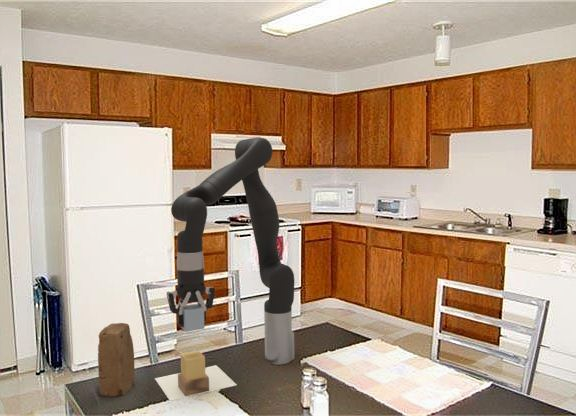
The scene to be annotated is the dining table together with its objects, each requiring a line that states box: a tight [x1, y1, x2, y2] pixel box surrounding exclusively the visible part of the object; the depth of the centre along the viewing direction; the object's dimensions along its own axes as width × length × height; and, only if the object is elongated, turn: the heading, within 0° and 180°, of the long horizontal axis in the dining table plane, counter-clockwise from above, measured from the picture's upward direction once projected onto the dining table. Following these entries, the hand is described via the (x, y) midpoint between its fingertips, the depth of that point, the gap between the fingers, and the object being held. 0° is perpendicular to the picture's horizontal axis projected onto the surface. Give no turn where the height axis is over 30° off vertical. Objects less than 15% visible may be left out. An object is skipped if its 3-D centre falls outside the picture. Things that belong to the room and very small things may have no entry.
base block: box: [177, 372, 209, 397], centre depth 144 cm, size 7×7×4 cm
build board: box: [154, 364, 238, 402], centre depth 149 cm, size 20×17×1 cm
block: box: [97, 322, 135, 397], centre depth 144 cm, size 11×8×20 cm
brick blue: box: [180, 302, 205, 333], centre depth 143 cm, size 6×6×6 cm
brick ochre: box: [180, 350, 206, 381], centre depth 144 cm, size 6×6×6 cm
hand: (191, 324), depth 143 cm, fingers closed on brick blue, 5 cm apart
